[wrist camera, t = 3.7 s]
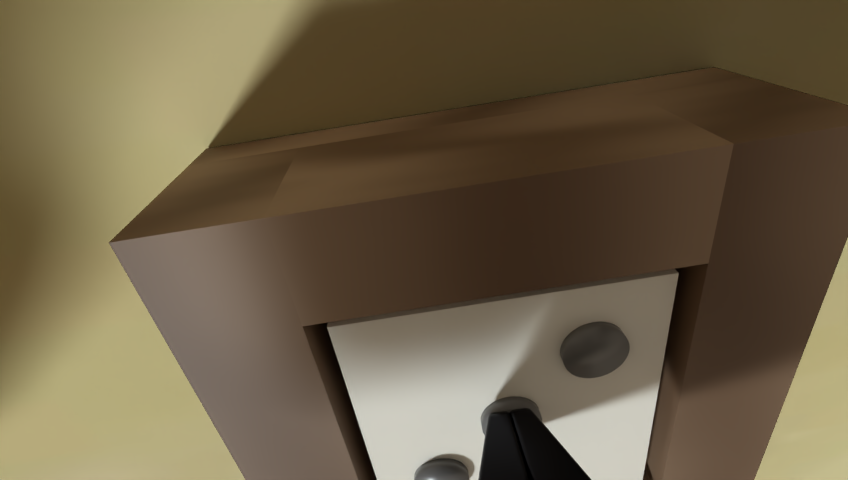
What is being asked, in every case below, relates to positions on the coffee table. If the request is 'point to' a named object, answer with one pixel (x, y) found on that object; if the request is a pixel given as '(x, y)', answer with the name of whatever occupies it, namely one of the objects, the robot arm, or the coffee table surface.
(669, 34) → the coffee table surface
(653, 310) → the three dot tile
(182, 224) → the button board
